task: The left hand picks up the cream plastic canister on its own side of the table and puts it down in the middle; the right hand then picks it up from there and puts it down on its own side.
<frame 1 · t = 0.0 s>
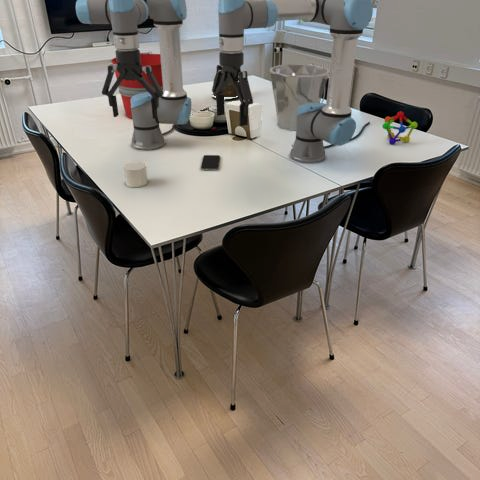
left hand: (135, 116, 150), 28 cm above the table, tool pointing down, fingers open, 13 cm apart
right hand: (231, 120, 147), 28 cm above the table, tool pointing down, fingers open, 13 cm apart
bell: (226, 97, 281), on the table
smartphone: (210, 163, 188), on the table
educational toy: (395, 143, 211), on the table
bucket 2: (148, 113, 250), on the table
bucket: (295, 125, 233), on the table
canister: (136, 182, 171), on the table
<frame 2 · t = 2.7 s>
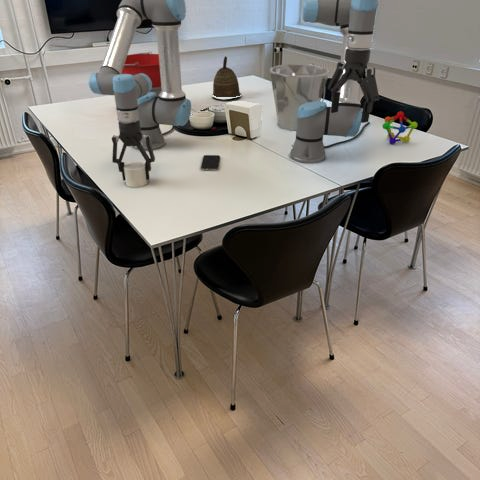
left hand: (136, 178, 170), 2 cm above the table, tool pointing down, fingers closed on canister, 8 cm apart
right hand: (348, 117, 148), 29 cm above the table, tool pointing down, fingers open, 13 cm apart
canister: (136, 182, 171), on the table, touching left hand
everything else where it was.
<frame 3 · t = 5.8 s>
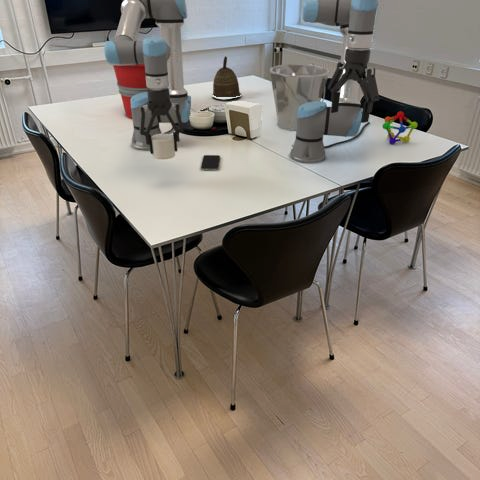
left hand: (163, 151, 163), 13 cm above the table, tool pointing down, fingers closed on canister, 8 cm apart
right hand: (348, 117, 148), 29 cm above the table, tool pointing down, fingers open, 13 cm apart
canister: (164, 155, 164), point 12 cm above the table, touching left hand
everything else where it was.
when the left hand's fingers open (3 cm above the table, at t = 9.3 s): canister stays where it is, on the table.
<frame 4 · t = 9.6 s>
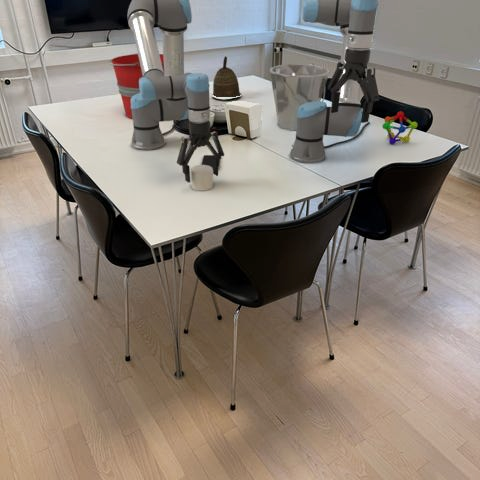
left hand: (201, 177, 167), 3 cm above the table, tool pointing down, fingers open, 11 cm apart
right hand: (348, 117, 148), 29 cm above the table, tool pointing down, fingers open, 13 cm apart
canister: (202, 186, 169), on the table
everything else where it was.
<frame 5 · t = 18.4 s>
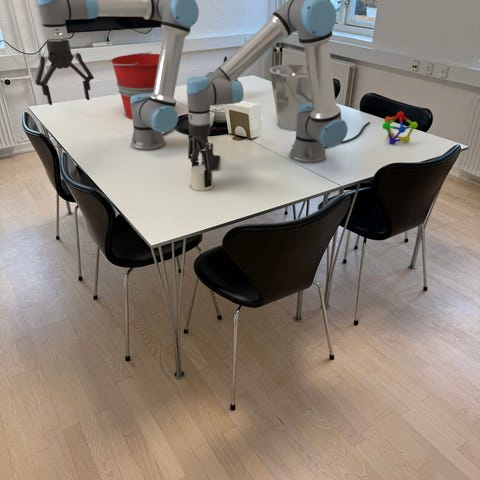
left hand: (69, 101, 165), 28 cm above the table, tool pointing down, fingers open, 13 cm apart
right hand: (202, 182, 168), 2 cm above the table, tool pointing down, fingers closed on canister, 8 cm apart
canister: (202, 186, 169), on the table, touching right hand
everything else where it was.
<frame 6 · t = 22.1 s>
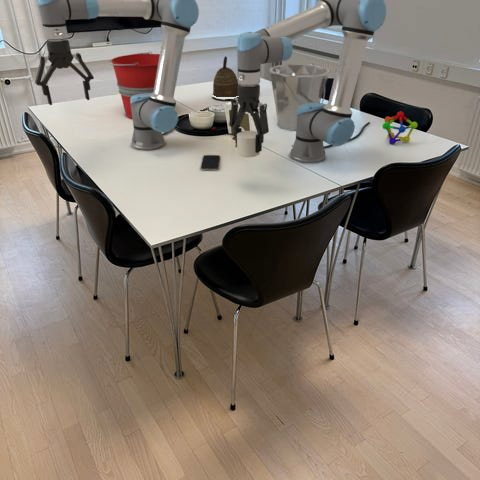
left hand: (69, 101, 165), 28 cm above the table, tool pointing down, fingers open, 13 cm apart
right hand: (248, 148, 160), 15 cm above the table, tool pointing down, fingers closed on canister, 8 cm apart
canister: (248, 153, 161), point 14 cm above the table, touching right hand
everything else where it was.
when the right hand's fingers open (3 cm above the table, at t = 25.9 s): canister stays where it is, on the table.
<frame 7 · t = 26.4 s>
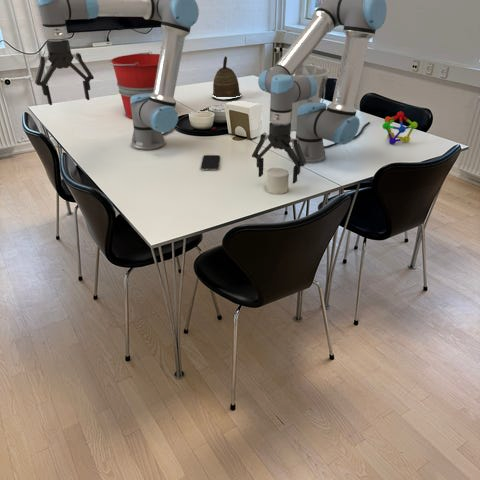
left hand: (69, 101, 165), 28 cm above the table, tool pointing down, fingers open, 13 cm apart
right hand: (277, 178, 165), 4 cm above the table, tool pointing down, fingers open, 13 cm apart
canister: (276, 189, 167), on the table
everything else where it was.
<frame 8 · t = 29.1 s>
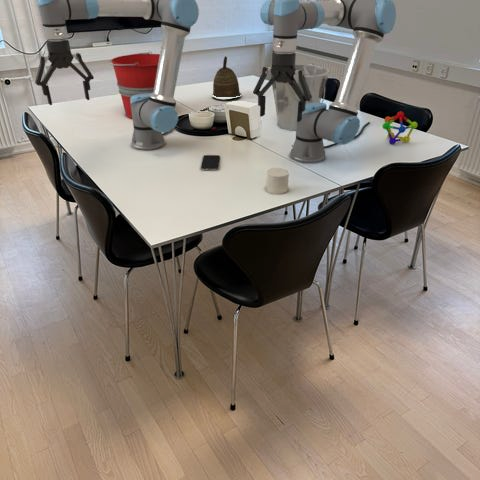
left hand: (69, 101, 165), 28 cm above the table, tool pointing down, fingers open, 13 cm apart
right hand: (280, 118, 153), 27 cm above the table, tool pointing down, fingers open, 13 cm apart
nothing on the table moved.
at the end: canister inside the target area (0.0 cm from its centre), on the table; canister tilted 0°; the two hands never held the canister at the same time; the left hand is holding nothing; the right hand is holding nothing; canister at rest at the end (0.0 cm/s) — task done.
